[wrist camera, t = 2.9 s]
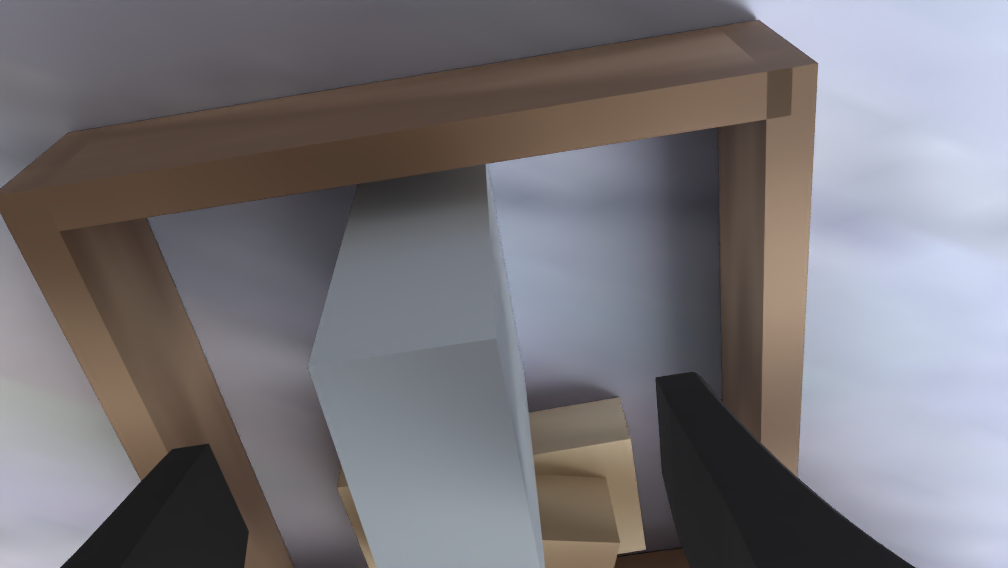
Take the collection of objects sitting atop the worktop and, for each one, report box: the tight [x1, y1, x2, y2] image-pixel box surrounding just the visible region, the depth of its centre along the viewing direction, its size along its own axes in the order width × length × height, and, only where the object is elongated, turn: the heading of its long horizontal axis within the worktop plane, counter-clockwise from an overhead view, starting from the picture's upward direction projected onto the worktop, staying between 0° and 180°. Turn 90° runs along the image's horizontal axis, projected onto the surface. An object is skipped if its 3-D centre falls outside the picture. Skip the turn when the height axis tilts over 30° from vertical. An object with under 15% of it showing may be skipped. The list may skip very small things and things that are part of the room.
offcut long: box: [337, 397, 646, 568], centre depth 21 cm, size 4×7×2 cm, turn 100°
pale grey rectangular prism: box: [307, 164, 545, 568], centre depth 15 cm, size 6×2×7 cm, turn 9°
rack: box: [0, 20, 818, 568], centre depth 18 cm, size 15×14×3 cm
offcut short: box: [535, 474, 620, 568], centre depth 19 cm, size 3×5×2 cm, turn 84°
